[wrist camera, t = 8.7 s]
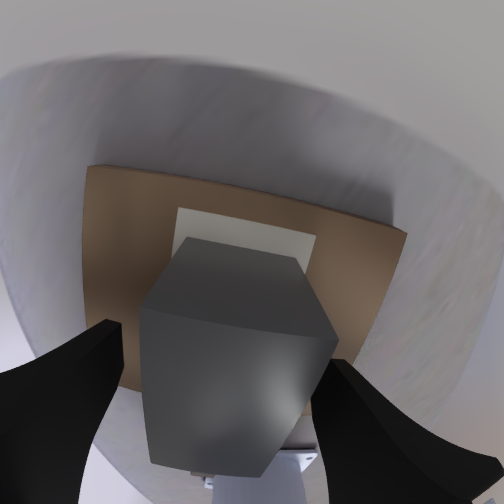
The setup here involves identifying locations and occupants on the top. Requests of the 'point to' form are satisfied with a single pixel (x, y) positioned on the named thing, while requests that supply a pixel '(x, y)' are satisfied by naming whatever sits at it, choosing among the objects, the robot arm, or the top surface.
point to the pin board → (227, 232)
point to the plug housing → (228, 357)
